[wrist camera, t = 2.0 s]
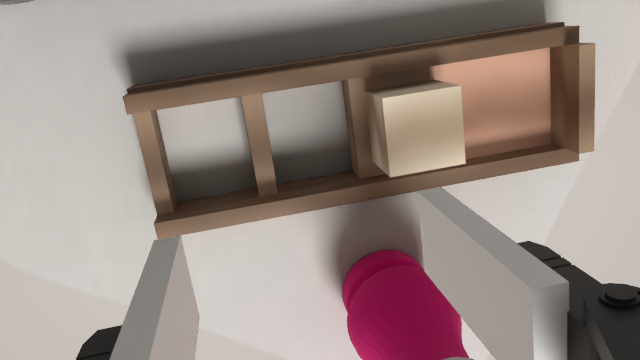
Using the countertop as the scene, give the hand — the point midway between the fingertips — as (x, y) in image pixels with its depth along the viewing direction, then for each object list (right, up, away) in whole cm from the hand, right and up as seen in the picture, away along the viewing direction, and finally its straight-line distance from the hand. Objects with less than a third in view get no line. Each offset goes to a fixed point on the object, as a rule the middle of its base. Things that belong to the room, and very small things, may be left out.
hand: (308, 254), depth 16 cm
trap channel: (+3, +6, +19) cm, 20 cm away
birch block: (+6, +6, +17) cm, 19 cm away
